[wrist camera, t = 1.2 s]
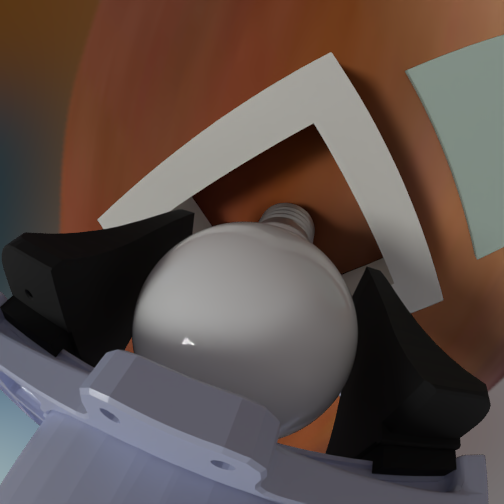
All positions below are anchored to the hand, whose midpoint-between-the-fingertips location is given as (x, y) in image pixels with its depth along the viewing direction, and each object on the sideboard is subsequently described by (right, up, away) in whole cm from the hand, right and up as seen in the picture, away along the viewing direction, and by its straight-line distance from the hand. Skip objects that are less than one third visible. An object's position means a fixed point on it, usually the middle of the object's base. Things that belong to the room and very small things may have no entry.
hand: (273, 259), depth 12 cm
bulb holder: (0, +1, +4) cm, 4 cm away
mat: (+12, +6, -3) cm, 13 cm away
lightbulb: (+1, +2, +3) cm, 4 cm away
